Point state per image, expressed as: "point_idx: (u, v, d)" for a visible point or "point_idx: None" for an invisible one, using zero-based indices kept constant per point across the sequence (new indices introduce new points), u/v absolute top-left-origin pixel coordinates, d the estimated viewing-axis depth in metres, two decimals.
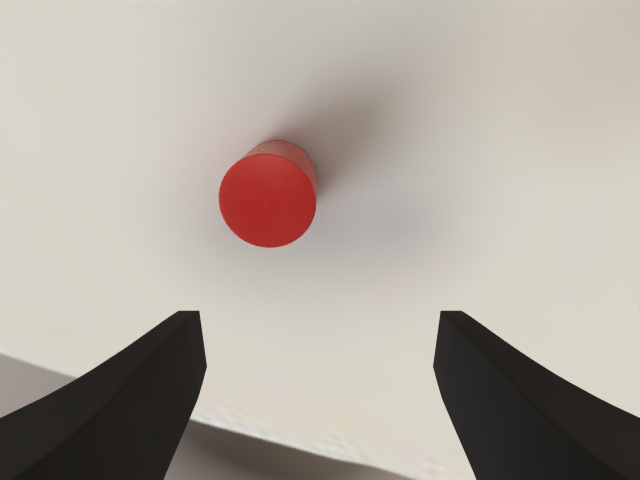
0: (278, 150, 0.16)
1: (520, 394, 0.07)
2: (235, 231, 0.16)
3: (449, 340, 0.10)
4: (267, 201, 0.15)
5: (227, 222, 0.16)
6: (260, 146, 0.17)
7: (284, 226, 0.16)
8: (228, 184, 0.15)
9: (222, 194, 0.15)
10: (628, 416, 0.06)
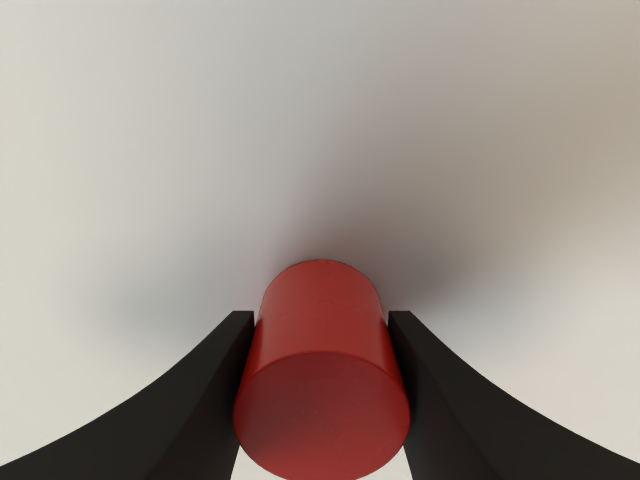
0: (332, 318, 0.09)
1: (439, 394, 0.07)
2: (266, 466, 0.09)
3: (394, 340, 0.10)
4: (322, 422, 0.08)
5: (251, 456, 0.09)
6: (294, 289, 0.10)
7: (352, 455, 0.09)
8: (248, 402, 0.08)
9: (238, 416, 0.08)
10: (536, 416, 0.06)
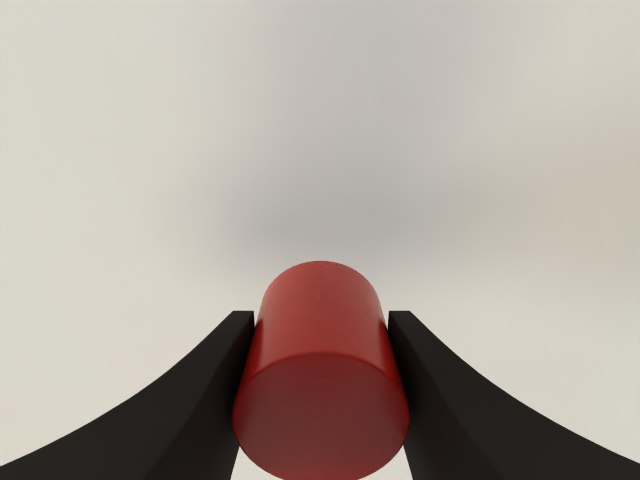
0: (331, 320, 0.09)
1: (439, 394, 0.07)
2: (266, 467, 0.09)
3: (394, 340, 0.10)
4: (321, 423, 0.08)
5: (250, 457, 0.09)
6: (293, 290, 0.10)
7: (352, 456, 0.09)
8: (248, 403, 0.08)
9: (238, 418, 0.08)
10: (536, 416, 0.06)
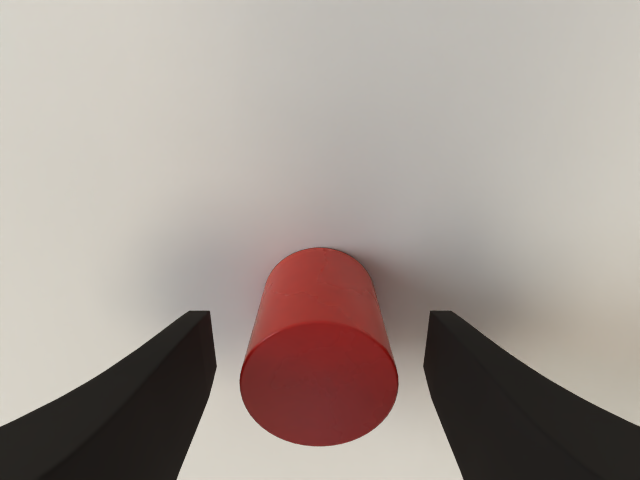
0: (328, 296, 0.10)
1: (504, 394, 0.07)
2: (269, 429, 0.10)
3: (438, 340, 0.10)
4: (320, 387, 0.09)
5: (256, 419, 0.10)
6: (294, 273, 0.11)
7: (347, 418, 0.10)
8: (254, 368, 0.09)
9: (245, 382, 0.09)
10: (610, 416, 0.06)
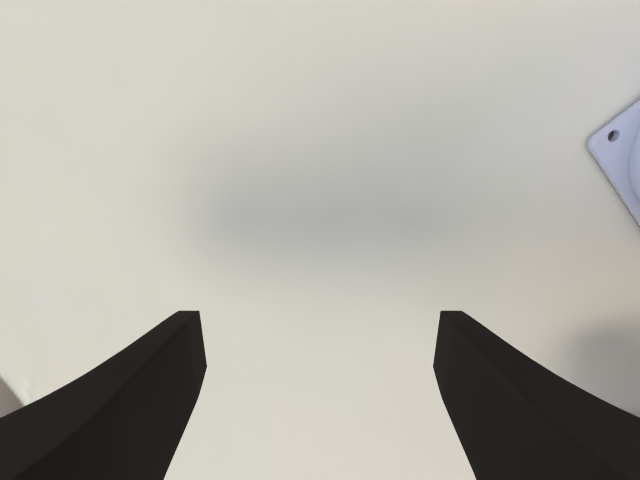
0: None
1: (520, 394, 0.07)
2: None
3: (449, 340, 0.10)
4: None
5: None
6: None
7: None
8: None
9: None
10: (628, 416, 0.06)
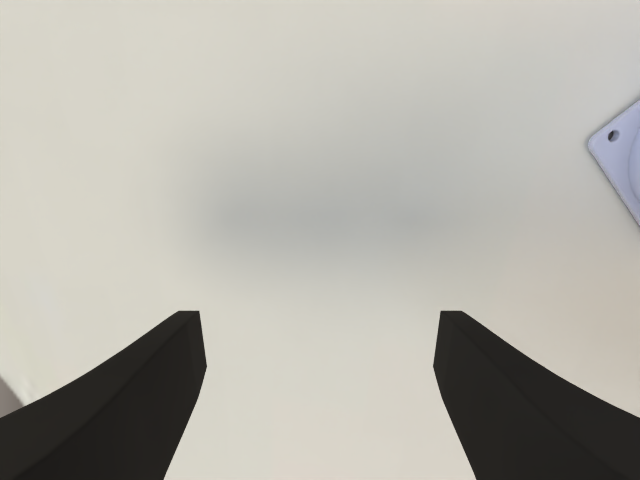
0: None
1: (520, 394, 0.07)
2: None
3: (449, 340, 0.10)
4: None
5: None
6: None
7: None
8: None
9: None
10: (628, 416, 0.06)
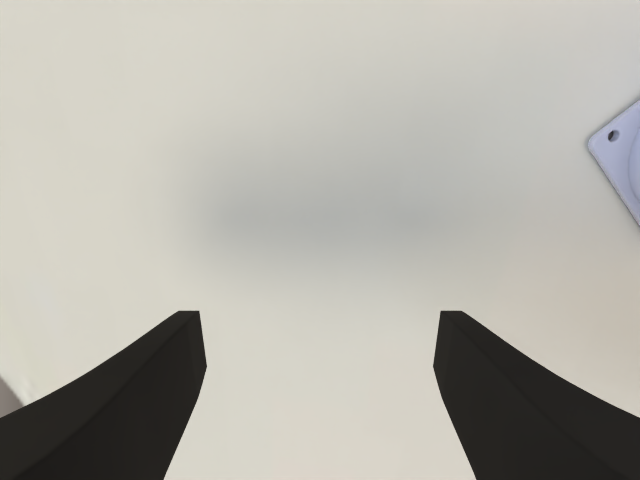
0: None
1: (520, 394, 0.07)
2: None
3: (449, 340, 0.10)
4: None
5: None
6: None
7: None
8: None
9: None
10: (628, 416, 0.06)
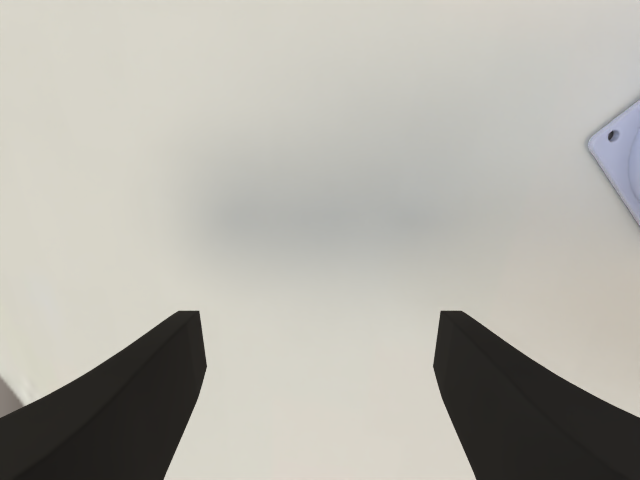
0: None
1: (520, 394, 0.07)
2: None
3: (449, 340, 0.10)
4: None
5: None
6: None
7: None
8: None
9: None
10: (628, 416, 0.06)
